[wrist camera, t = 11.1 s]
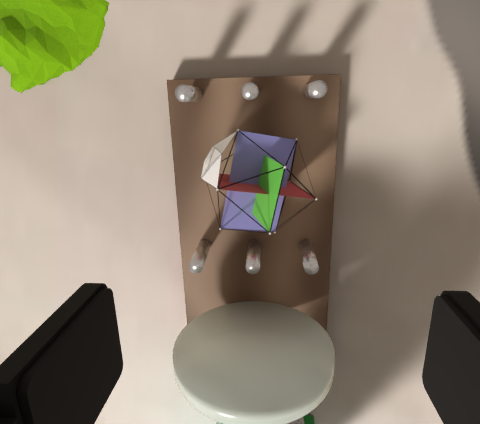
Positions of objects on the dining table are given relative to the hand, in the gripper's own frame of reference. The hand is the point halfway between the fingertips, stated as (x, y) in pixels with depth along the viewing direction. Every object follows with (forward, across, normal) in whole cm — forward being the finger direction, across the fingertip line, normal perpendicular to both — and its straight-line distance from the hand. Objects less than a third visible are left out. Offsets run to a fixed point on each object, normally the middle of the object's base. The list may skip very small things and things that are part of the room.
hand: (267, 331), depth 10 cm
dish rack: (+19, +1, +4) cm, 19 cm away
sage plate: (+17, +1, +10) cm, 20 cm away
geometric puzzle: (+17, +1, -1) cm, 17 cm away
